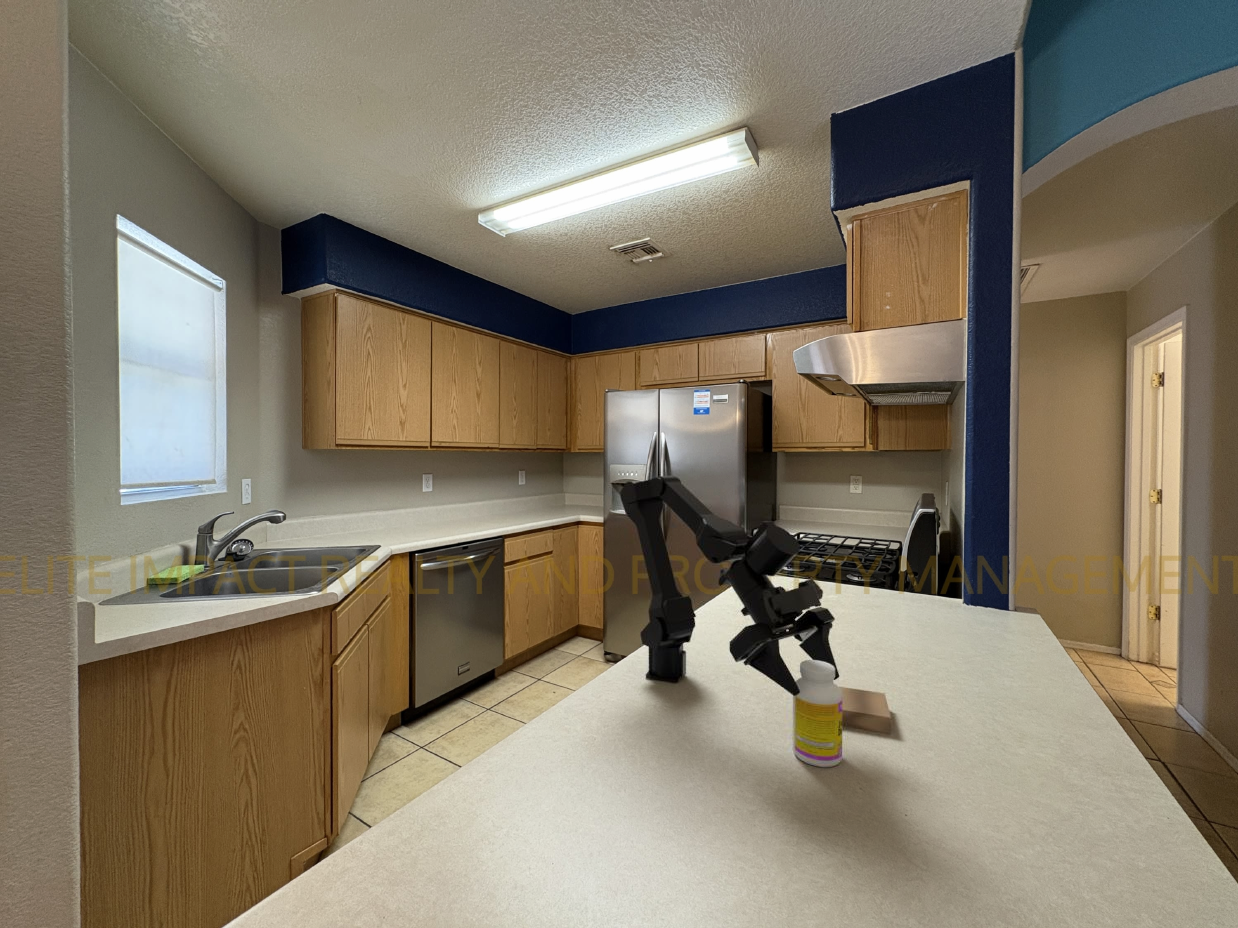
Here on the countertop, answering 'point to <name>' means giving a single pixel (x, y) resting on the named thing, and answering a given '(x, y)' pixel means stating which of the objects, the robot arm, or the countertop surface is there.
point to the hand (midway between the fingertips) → (817, 686)
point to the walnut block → (865, 710)
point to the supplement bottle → (817, 715)
